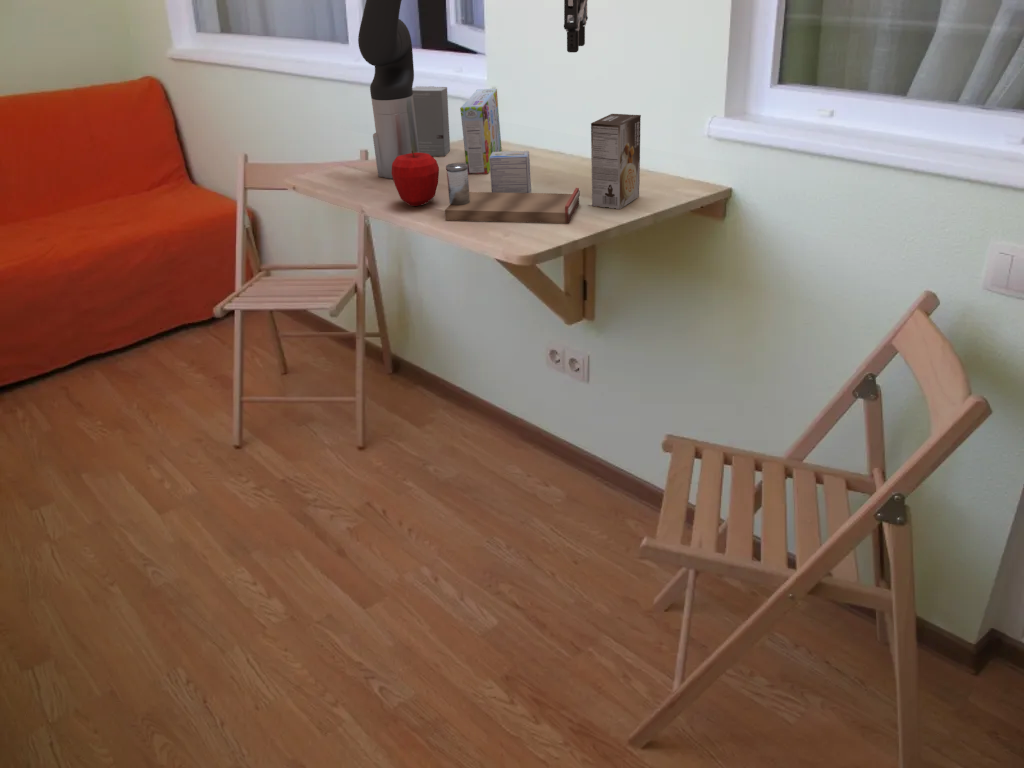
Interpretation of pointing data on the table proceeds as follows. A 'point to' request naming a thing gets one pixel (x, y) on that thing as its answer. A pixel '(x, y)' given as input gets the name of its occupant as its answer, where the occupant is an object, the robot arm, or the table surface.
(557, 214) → the brown wooden board
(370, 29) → the robot arm
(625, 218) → the table surface
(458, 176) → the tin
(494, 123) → the snack box
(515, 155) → the medicine box
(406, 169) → the apple
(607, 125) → the coffee box
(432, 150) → the skincare box
